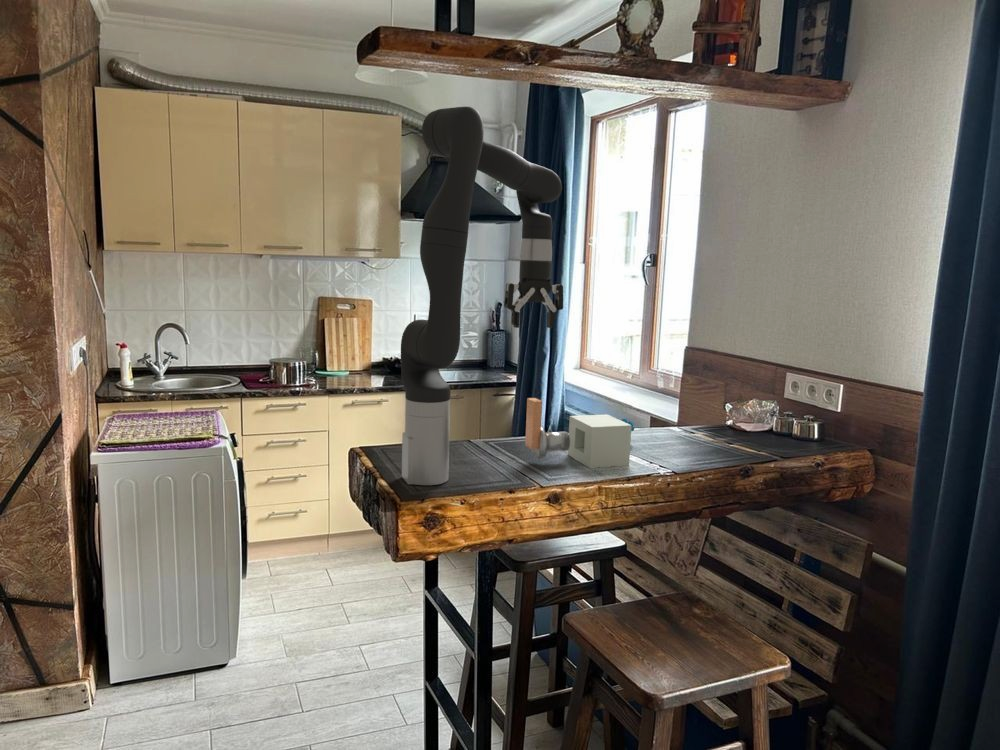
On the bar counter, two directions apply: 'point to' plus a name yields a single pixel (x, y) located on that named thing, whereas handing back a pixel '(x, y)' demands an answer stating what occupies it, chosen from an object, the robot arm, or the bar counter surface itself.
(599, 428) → the block
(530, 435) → the wood and metal l-shape
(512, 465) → the bar counter surface
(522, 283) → the robot arm
